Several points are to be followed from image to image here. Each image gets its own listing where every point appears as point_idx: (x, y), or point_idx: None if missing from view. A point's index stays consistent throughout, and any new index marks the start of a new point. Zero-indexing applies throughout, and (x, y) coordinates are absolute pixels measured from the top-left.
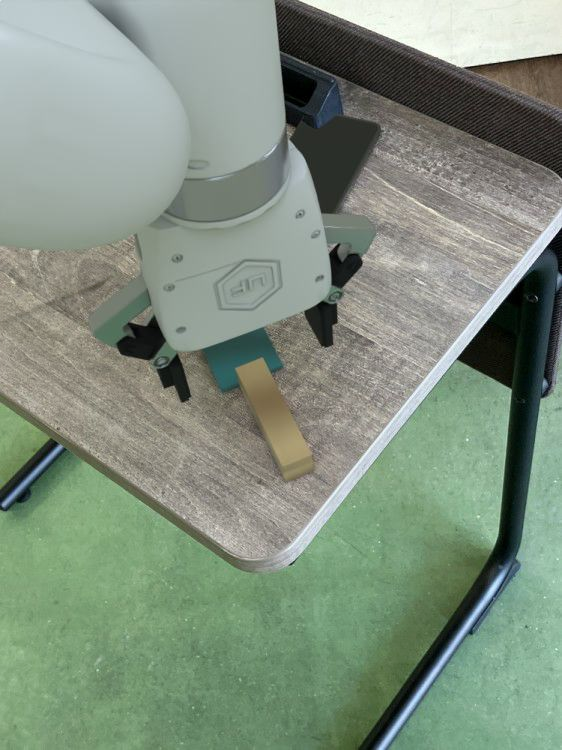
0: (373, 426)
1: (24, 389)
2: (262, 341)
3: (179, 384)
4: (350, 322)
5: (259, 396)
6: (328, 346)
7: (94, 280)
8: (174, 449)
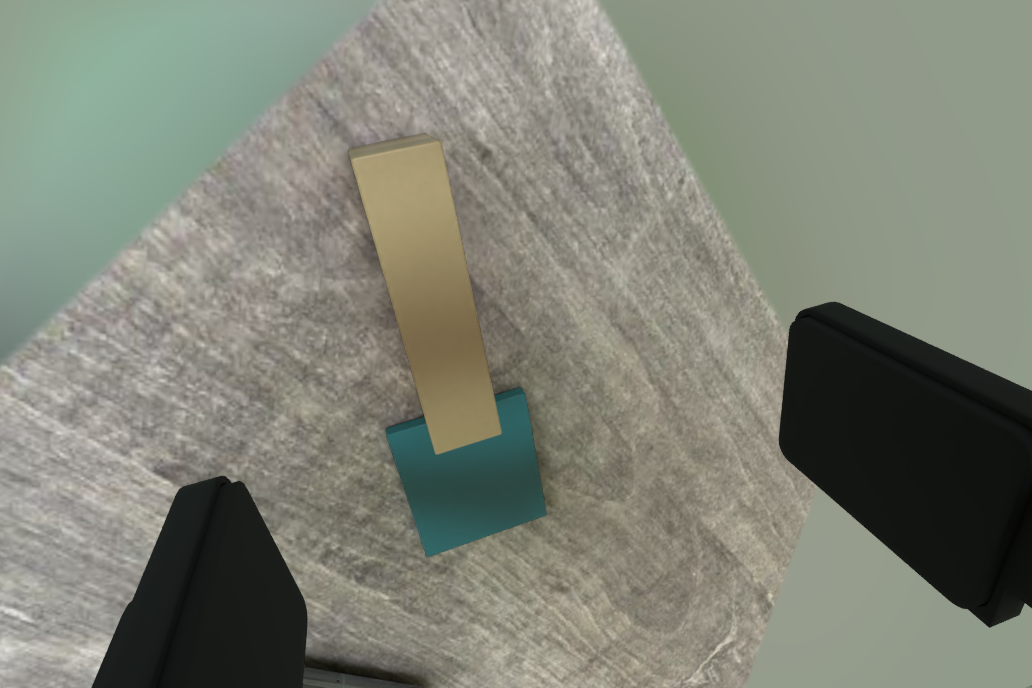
0: (167, 245)
1: None
2: (421, 489)
3: (930, 355)
4: None
5: (462, 357)
6: (205, 482)
7: (669, 600)
8: (636, 276)
